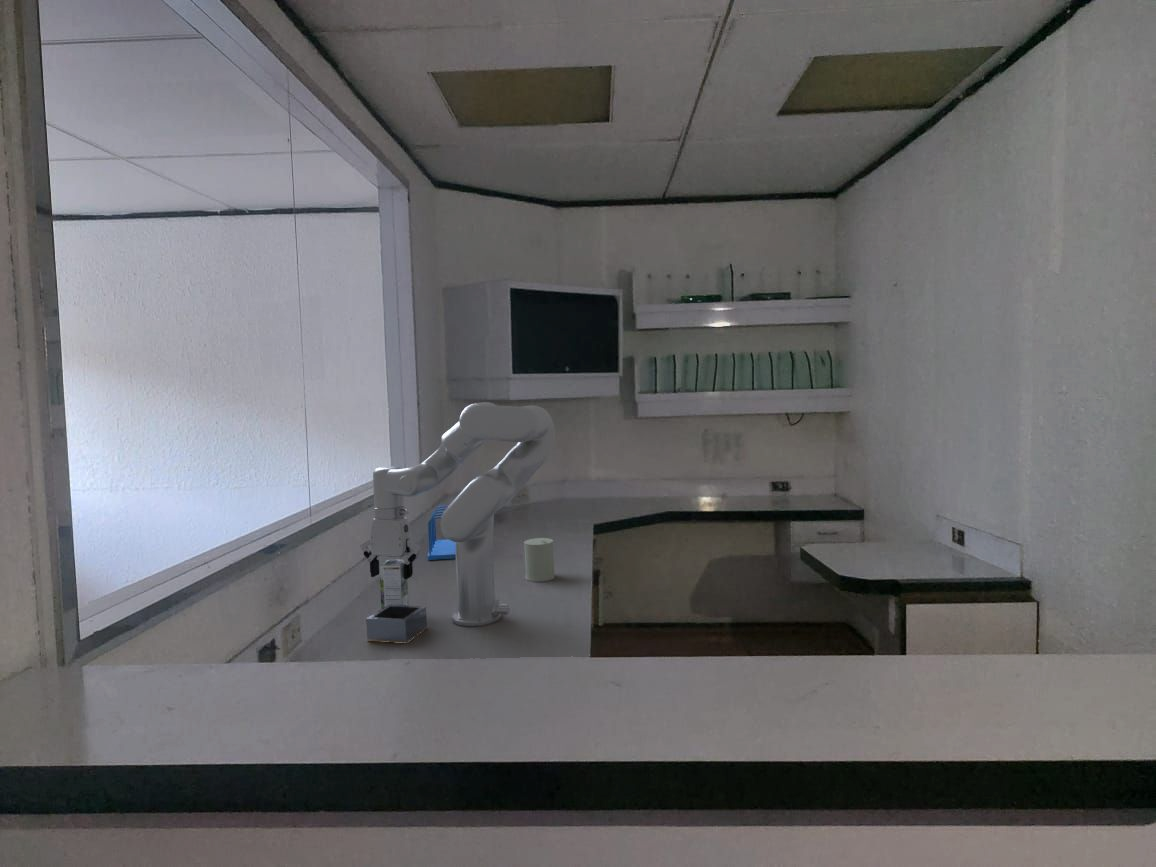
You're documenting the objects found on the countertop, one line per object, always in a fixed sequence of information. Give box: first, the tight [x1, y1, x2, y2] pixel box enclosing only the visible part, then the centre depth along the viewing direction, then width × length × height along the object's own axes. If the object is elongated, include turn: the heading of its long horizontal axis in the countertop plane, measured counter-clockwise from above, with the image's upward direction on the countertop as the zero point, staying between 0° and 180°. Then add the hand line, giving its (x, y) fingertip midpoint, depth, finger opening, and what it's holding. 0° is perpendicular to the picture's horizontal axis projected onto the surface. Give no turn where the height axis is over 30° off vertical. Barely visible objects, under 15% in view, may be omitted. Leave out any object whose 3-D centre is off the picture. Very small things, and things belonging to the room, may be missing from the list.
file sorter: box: [426, 505, 456, 561], centre depth 249 cm, size 25×17×15 cm
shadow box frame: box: [365, 605, 428, 644], centre depth 165 cm, size 10×10×6 cm
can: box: [523, 537, 556, 583], centre depth 210 cm, size 9×9×12 cm
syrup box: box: [379, 558, 409, 610], centre depth 179 cm, size 6×6×14 cm
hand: (391, 576), depth 179 cm, fingers open, 9 cm apart
